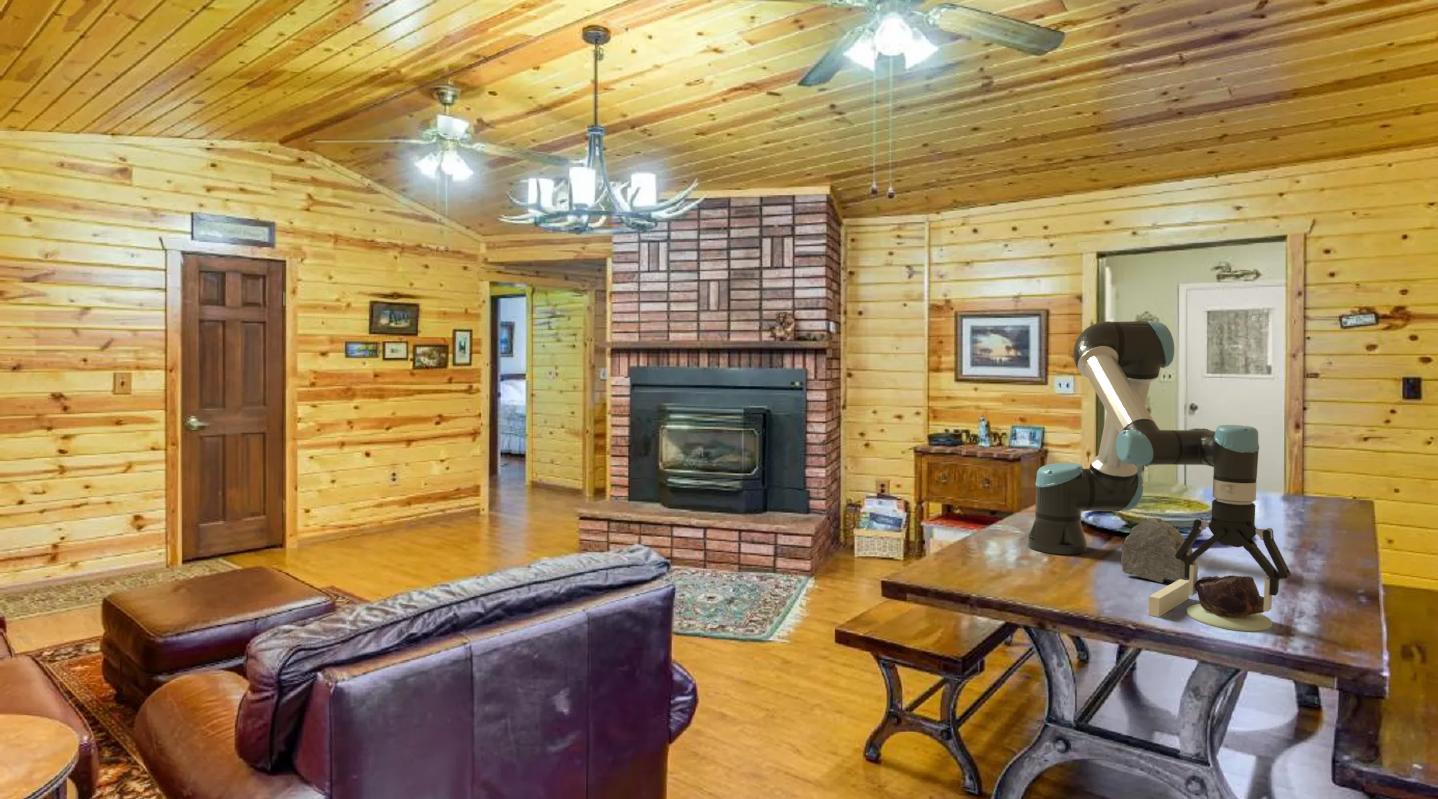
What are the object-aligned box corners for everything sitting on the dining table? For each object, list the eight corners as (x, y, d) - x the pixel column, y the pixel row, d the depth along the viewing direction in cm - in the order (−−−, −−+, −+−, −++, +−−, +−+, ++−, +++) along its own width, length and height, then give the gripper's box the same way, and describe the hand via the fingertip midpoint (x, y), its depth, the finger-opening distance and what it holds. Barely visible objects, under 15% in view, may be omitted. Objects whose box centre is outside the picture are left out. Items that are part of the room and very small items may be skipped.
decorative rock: (1117, 575, 197) (1119, 515, 196) (1127, 570, 202) (1129, 511, 201) (1190, 590, 185) (1193, 526, 184) (1200, 584, 190) (1202, 521, 189)
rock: (1208, 609, 174) (1190, 618, 168) (1203, 569, 175) (1185, 577, 168) (1271, 614, 165) (1255, 624, 159) (1265, 572, 166) (1249, 580, 160)
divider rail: (1148, 614, 169) (1149, 596, 169) (1179, 596, 181) (1179, 579, 181) (1158, 617, 168) (1159, 598, 167) (1188, 598, 180) (1189, 581, 179)
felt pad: (1175, 617, 167) (1176, 614, 167) (1200, 601, 177) (1200, 599, 177) (1260, 637, 156) (1260, 634, 156) (1281, 619, 166) (1281, 616, 166)
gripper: (1161, 494, 172) (1157, 591, 173) (1302, 513, 153) (1296, 621, 155) (1174, 490, 177) (1170, 584, 178) (1312, 507, 158) (1306, 612, 160)
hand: (1228, 601), depth 167 cm, fingers open, 13 cm apart
